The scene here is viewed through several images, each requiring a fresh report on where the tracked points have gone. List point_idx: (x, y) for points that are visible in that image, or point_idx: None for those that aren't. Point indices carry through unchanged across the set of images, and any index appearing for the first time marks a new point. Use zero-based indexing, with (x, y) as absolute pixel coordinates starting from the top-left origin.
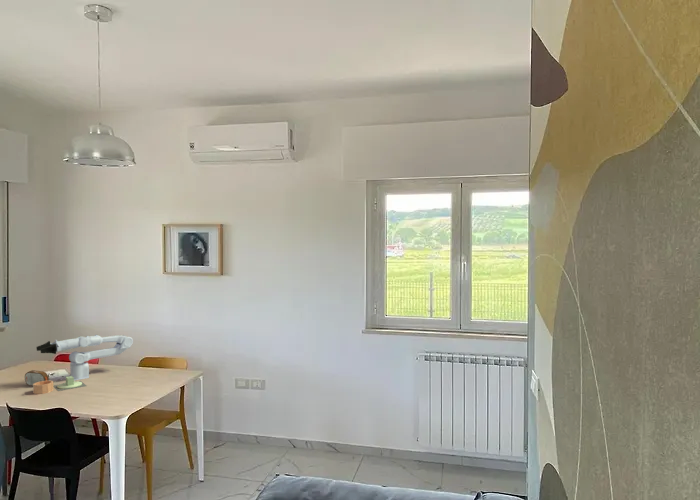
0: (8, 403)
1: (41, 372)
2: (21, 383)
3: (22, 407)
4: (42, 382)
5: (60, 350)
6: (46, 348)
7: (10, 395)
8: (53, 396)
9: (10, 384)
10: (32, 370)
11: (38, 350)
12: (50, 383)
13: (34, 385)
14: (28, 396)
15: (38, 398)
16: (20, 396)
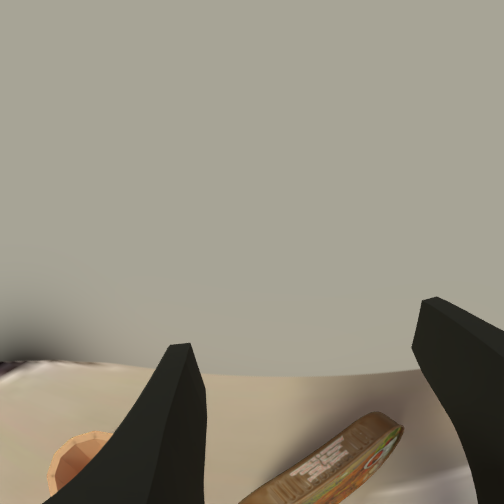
0: (82, 365)
1: (265, 498)
2: (427, 424)
3: (6, 376)
4: None
5: None
6: (144, 421)
7: None
8: (14, 484)
9: (428, 383)
10: (376, 439)
11: (418, 362)
12: (50, 493)
13: (89, 433)
14: (105, 432)
15: (41, 442)
16: None
